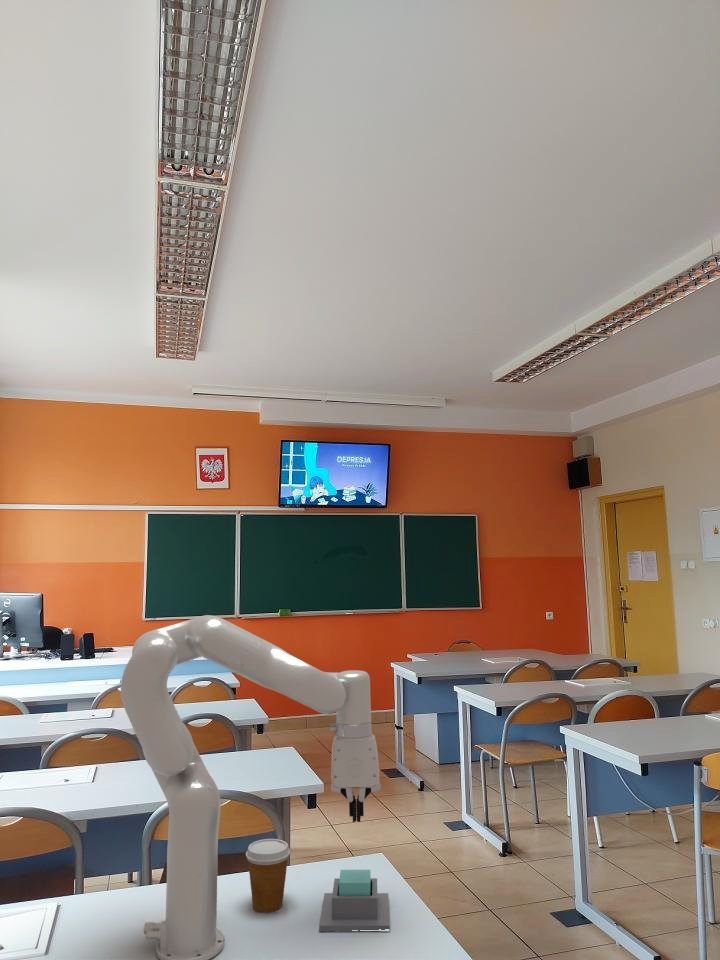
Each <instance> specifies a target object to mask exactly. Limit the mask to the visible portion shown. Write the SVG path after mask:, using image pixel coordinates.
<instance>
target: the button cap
mask: <svg viewBox="0 0 720 960" xmlns="http://www.w3.org/2000/svg"><path fill="white" fill-rule="evenodd" d="M339 878H340V879H339V896H371V878H372V877H371V869H340V872H339Z"/></svg>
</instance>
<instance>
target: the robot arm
mask: <svg viewBox="0 0 720 960" xmlns="http://www.w3.org/2000/svg"><path fill="white" fill-rule="evenodd" d="M131 651H132V652H131V657H130V659H129V660H128V662H127V664H126V666H125V668H124V670H123V674H122V677H121V683H120V696H121V702H122V705H123V707H124V708H123V709H124V711H125V713H126V716H127V718H128V720H129V721H130V724H131V727H132V728H133V731H134V733H135V735H136V737H137V740H138V742H139V745H140V746H141V749H142V753H143V756H144V759H145V762H146V763H147V765H149V767H150V768H151V771H152V772H153V775H154V777H155V779H156V781H157V782H158V785H159V787H160V789H161V791H162V793H163V796H164V797H165V799H166V802H167V803H166V804H167V806H168V834H167V837H168V838H167V851H166V852H167V853H166V892H165V894H166V895H165V897H166V899H165V901H166V902H165V920H161V921H160V922H156V921H155V922H154V921H153V922H145V923H144V925H143V926H144V927H143V934H144V935H145V940H157V943H156V946H155V947H156V948H155V950H156V951H155V953H156V956H157V958H158V959H159V960H211V959H212V958H214V957H215V956H217V955H218V954H220V952H221V951H222V950H223V948H224V946H225V935H224V932H222V930H220V929H219V928H217V920H218V919H217V915H218V913H217V912H218V911H217V909H218V905H217V903H218V864H219V863H218V848H219V846H218V844H219V826H220V820H221V819H220V817H221V809H222V808H221V805H222V803H221V796H220V795H221V794H220V791H219V788H218V786H217V784H216V782H215V780H214V778H213V777H212V776H211V775H210V773H209V770H208V769H207V767H206V765H205V763H204V761H203V760H202V757H201V755H200V753H199V751H198V749H197V747H196V744H195V742H194V740H193V737H192V734H191V732H190V731H189V729H188V727H187V726H186V724H185V723H184V722H183V720H182V718H181V716H180V715H179V713H178V711H177V708H176V707H175V704H174V701H173V698H172V697H171V695H170V693H169V690H168V679H169V677H170V675H171V673H172V671H173V670H174V668H175V667H176V666H177V665H180V664H183V663H187V662H190V661H192V660H195V659H198V658H201V657H202V658H204V659H206V660H208V661H210V662H212V663H214V664H216V665H218V666H221V667H222V668H224V669H227V670H229V671H230V672H233V673H235V674H237V675H238V676H241V677H243V678H244V679H247V680H249V681H251V682H253V683H254V684H257V685H259V686H261V687H263V688H266V689H269V690H272V691H274V692H277V693H279V694H282V696H283V695H284V696H286V697H287V698H290V699H292V700H293V701H296V702H297V703H299V704H302V705H304V706H306V707H307V708H310V709H312V710H314V711H316V712H317V713H320V714H323V715H332V714H336V722H335V723H334V724H330V725H329V731H330V732H333V733H335V734H336V735H334V737H333V739H332V748H331V763H330V764H331V765H330V768H331V769H330V771H331V773H330V775H331V776H330V777H331V780H330V781H331V786H330V791H331V792H334V793H338V794H341V795H342V796H344V798H345V799H346V800H347V801H348V807H349V809H348V810H349V812H348V813H349V817H352V823H356V822H358V823H361V819H362V818H361V817H364V810H365V809H364V801H365V800H366V799H367V797H368V796H369V795H370V794H371V793H375V792H378V791H380V790H381V789H382V788H381V787H382V786H381V782H380V765H379V752H378V745H377V740H376V736H375V735H374V734H373V732H372V708H371V706H372V703H371V677H370V675H369V673H368V672H367V671H365V670H358V669H356V670H355V669H354V670H353V669H351V670H350V669H349V670H344V671H343V670H342V671H341V672H332V671H331V672H329V671H328V672H326V671H323V670H320V669H318V668H317V667H314V666H312V665H311V664H309V663H307V662H305V661H304V660H301V659H299V658H297V657H296V656H294V655H292V654H290V653H288V652H287V651H285V650H284V649H282V648H281V647H279V646H277V645H275V644H273V643H271V642H270V641H268V640H266V639H263V638H261V637H259V636H257V635H256V634H254V633H252V632H250V631H248V630H246V629H244V628H242V627H240V626H237V625H236V624H234V623H232V622H231V621H228V620H225V619H224V618H222V617H219V616H216V615H212V614H211V615H209V614H205V615H201V616H198V617H193V618H192V619H188V620H185V621H182V622H177V623H175V624H171V625H167V626H164V627H160V628H156V629H153V630H149V631H147V632H144V633H143V634H141V636H139V637H138V638H137V639H136V641H135V642H134V644H133V646H132V650H131ZM353 789H359V791H358V795H357V798H356V796H355V794H354V790H353Z"/></svg>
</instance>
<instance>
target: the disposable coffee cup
mask: <svg viewBox="0 0 720 960" xmlns="http://www.w3.org/2000/svg"><path fill="white" fill-rule="evenodd" d="M290 854H291V850H290V848H289V844H288V843H287V842H286V841H284V840H283V839H282V840H281V839H278V838H264V839H259V840H256V841H254V842H252V843H250V844H249V845H248V848H247V851H246V852H245V857H246V860H247V861H248V873H249V880H250V881H249V882H250V891H251V892H250V893H251V903H252V908H253V910H254V911H257V912H259V913H267V914H268V913H273V912H276V911H278V910H280V909H281V908H282V907H283V903H284V896H285V895H284V893H285V887H286V886H285V885H286V877H287V876H286V875H287V869H288V868H287V867H288V860H289V856H290Z"/></svg>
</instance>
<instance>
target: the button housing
mask: <svg viewBox="0 0 720 960" xmlns="http://www.w3.org/2000/svg"><path fill="white" fill-rule="evenodd" d="M339 879H340V877H339V878H338V877H337V878H336V877H335V878H334V881H333V887H332V893H331V892H330V893H329V892H327V893H326V892H325V893H324V892H323V893H324V894H323V899H322V906H321V910H320V911H321V912H320V918H319V924H318V932H319V933H322V932H321V931H326V932H325V933H329V932H328V931H352V930H358V931H360V930H379V929H381V930H385V929H391V928H390V927H391V926H390V904H389V903H390V902H389V900H390V899H389V893H387V892H386V893H385V892H378V878H374V877H373V878H372V877H371V896H339Z"/></svg>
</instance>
